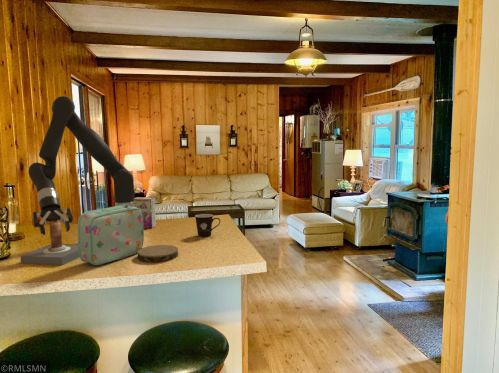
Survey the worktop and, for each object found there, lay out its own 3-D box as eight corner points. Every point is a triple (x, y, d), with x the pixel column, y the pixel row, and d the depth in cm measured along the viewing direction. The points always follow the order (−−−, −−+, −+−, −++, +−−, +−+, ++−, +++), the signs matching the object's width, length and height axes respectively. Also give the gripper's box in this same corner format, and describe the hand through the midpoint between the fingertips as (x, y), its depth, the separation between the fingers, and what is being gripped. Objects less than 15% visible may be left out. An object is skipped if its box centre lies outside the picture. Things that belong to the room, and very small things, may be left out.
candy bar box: (133, 227, 204) (132, 198, 202) (138, 225, 209) (136, 197, 207) (152, 228, 201) (150, 198, 199) (156, 226, 206) (155, 197, 204)
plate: (90, 251, 158) (90, 244, 158) (62, 265, 141) (62, 256, 140) (53, 250, 161) (52, 243, 161) (21, 263, 144) (20, 255, 143)
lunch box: (131, 248, 163) (128, 200, 161) (148, 251, 158) (145, 201, 155) (76, 265, 140) (72, 209, 138) (93, 269, 135) (89, 211, 132)
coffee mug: (192, 236, 182) (191, 216, 180) (201, 232, 190) (200, 213, 188) (213, 238, 177) (213, 218, 176) (221, 234, 185) (221, 214, 184)
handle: (69, 247, 153) (67, 221, 152) (58, 252, 147) (56, 224, 146) (55, 247, 154) (53, 221, 153) (44, 251, 148) (42, 224, 147)
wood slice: (157, 266, 139) (157, 258, 139) (129, 259, 148) (128, 252, 147) (186, 255, 152) (186, 248, 152) (159, 249, 161) (158, 243, 160)
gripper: (29, 197, 150) (36, 229, 142) (68, 193, 158) (76, 224, 151) (29, 208, 155) (35, 240, 147) (66, 204, 163) (74, 234, 155)
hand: (56, 232), depth 149 cm, fingers open, 8 cm apart
